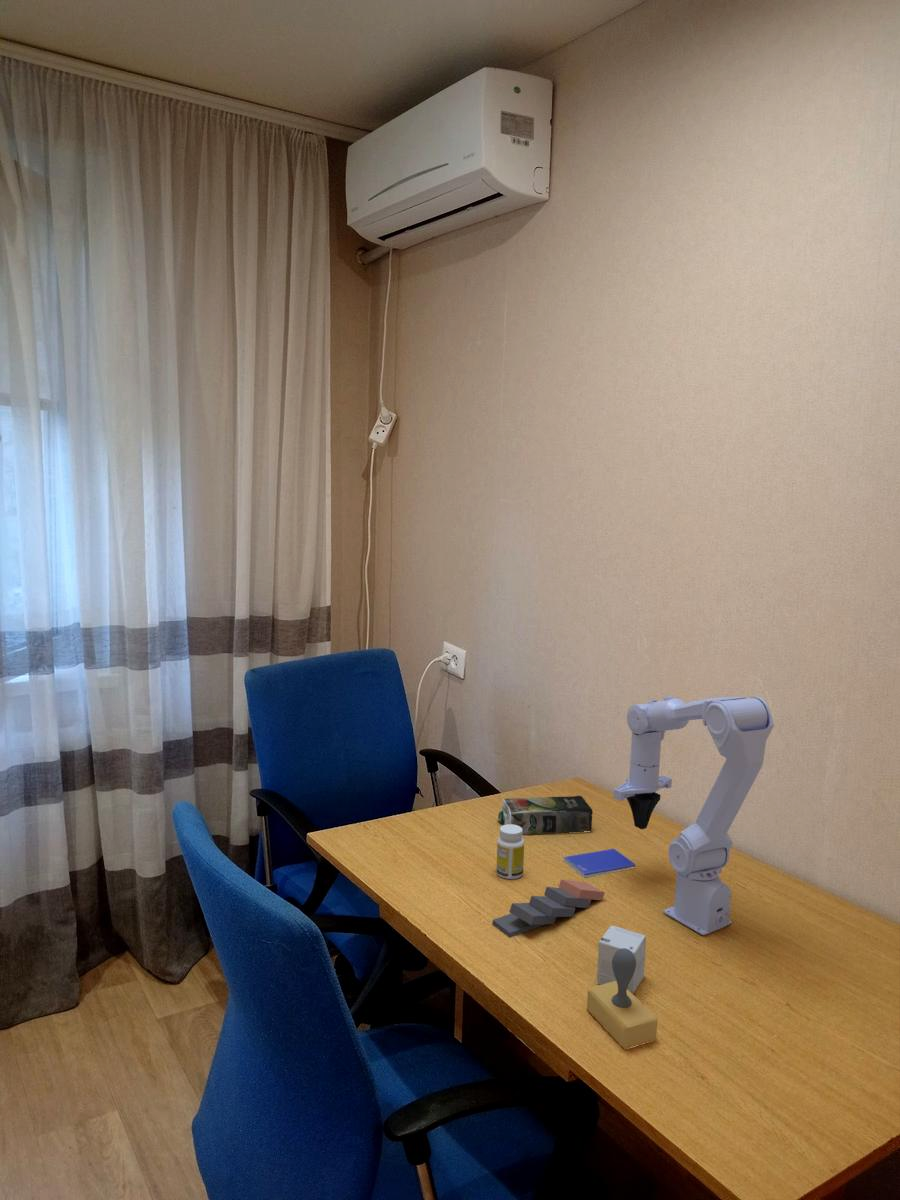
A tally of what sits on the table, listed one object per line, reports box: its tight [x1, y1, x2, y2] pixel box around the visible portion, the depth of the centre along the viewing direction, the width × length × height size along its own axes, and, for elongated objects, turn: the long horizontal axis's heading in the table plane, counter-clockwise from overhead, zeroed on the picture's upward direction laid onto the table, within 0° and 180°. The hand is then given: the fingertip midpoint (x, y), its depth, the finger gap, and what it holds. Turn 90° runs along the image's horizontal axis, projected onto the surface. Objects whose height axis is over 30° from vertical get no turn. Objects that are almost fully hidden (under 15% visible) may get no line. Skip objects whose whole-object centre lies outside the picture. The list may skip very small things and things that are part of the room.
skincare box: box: [596, 925, 647, 995], centre depth 135 cm, size 6×6×7 cm
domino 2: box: [509, 902, 557, 925], centre depth 151 cm, size 2×5×8 cm
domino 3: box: [528, 895, 576, 918], centre depth 153 cm, size 2×5×8 cm
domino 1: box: [492, 913, 544, 938], centre depth 151 cm, size 2×5×8 cm
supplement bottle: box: [495, 824, 525, 880], centre depth 170 cm, size 6×5×10 cm
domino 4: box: [543, 886, 592, 909], centre depth 157 cm, size 2×5×8 cm
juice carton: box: [497, 795, 594, 836], centre depth 194 cm, size 20×10×6 cm, turn 99°
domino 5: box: [558, 878, 606, 901], centre depth 160 cm, size 2×5×8 cm
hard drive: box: [562, 848, 636, 879], centre depth 176 cm, size 2×8×12 cm
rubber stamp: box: [586, 948, 658, 1050], centre depth 124 cm, size 10×6×12 cm, turn 24°
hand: (640, 827), depth 170 cm, fingers closed
